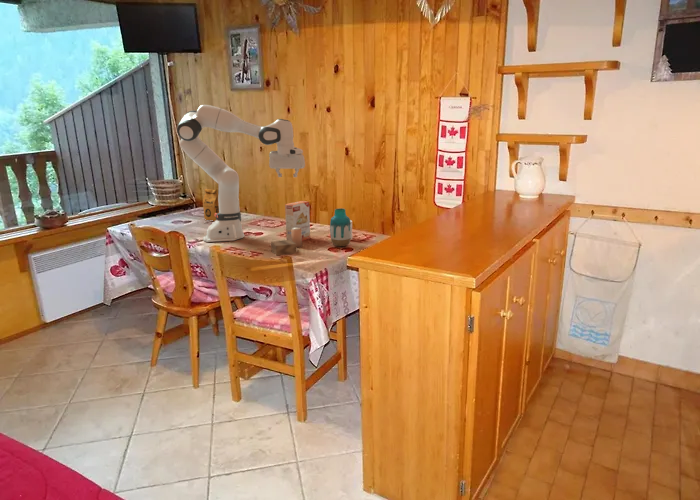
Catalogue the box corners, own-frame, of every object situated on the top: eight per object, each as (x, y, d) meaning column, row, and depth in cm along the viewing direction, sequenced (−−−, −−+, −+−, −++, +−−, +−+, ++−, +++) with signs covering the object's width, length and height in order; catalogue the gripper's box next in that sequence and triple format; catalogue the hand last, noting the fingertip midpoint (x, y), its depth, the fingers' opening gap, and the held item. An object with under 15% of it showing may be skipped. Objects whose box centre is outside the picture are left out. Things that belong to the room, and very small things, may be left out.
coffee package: (214, 225, 325) (211, 190, 320) (202, 223, 333) (199, 189, 328) (226, 222, 333) (224, 189, 328) (215, 220, 341) (212, 187, 335)
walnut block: (276, 256, 247) (275, 246, 246) (271, 251, 256) (271, 241, 255) (296, 253, 251) (295, 243, 250) (290, 249, 260) (290, 239, 259)
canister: (293, 247, 261) (292, 229, 259) (291, 245, 266) (290, 227, 264) (303, 246, 263) (302, 228, 261) (300, 244, 268) (299, 226, 265)
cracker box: (295, 244, 270) (293, 204, 264) (286, 242, 273) (284, 204, 268) (311, 238, 281) (309, 201, 276) (302, 237, 284) (300, 200, 279)
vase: (332, 243, 269) (330, 207, 264) (352, 243, 268) (351, 207, 263) (329, 248, 258) (328, 211, 254) (350, 248, 257) (349, 210, 253)
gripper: (265, 151, 270) (267, 177, 274) (299, 150, 262) (301, 177, 266) (272, 150, 276) (274, 176, 279) (305, 150, 268) (307, 176, 271)
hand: (287, 177), depth 272 cm, fingers open, 8 cm apart
